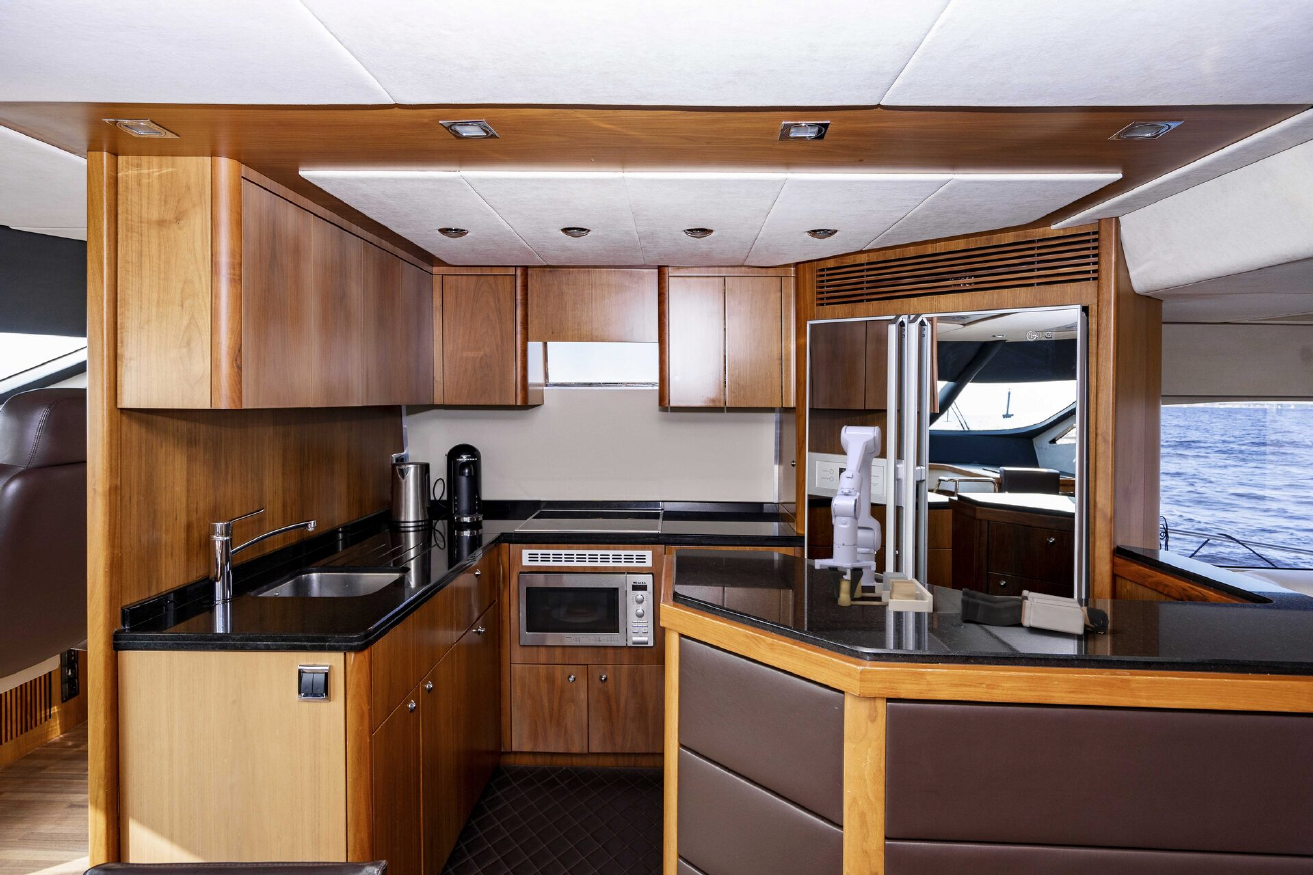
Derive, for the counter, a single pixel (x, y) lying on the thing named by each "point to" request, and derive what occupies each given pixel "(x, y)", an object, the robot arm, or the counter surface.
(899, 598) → the beige long piece
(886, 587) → the grey handled block
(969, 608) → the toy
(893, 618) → the counter surface
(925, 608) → the rack
